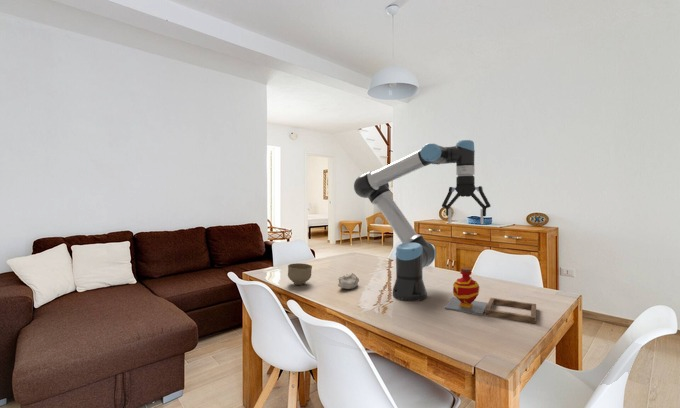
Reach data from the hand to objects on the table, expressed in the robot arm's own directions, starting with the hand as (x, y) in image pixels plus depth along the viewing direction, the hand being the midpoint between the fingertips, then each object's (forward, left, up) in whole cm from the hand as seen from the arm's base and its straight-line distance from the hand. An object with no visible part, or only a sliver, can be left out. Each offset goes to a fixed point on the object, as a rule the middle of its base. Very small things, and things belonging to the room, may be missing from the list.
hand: (465, 223), depth 145 cm
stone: (-53, -14, -33) cm, 64 cm away
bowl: (-78, -21, -33) cm, 87 cm away
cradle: (+19, -12, -33) cm, 40 cm away
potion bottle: (+3, -14, -32) cm, 35 cm away
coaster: (+3, -14, -33) cm, 36 cm away
